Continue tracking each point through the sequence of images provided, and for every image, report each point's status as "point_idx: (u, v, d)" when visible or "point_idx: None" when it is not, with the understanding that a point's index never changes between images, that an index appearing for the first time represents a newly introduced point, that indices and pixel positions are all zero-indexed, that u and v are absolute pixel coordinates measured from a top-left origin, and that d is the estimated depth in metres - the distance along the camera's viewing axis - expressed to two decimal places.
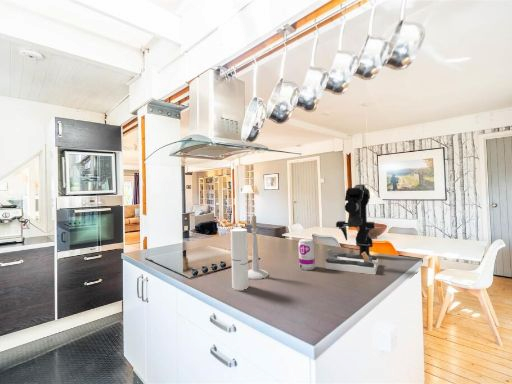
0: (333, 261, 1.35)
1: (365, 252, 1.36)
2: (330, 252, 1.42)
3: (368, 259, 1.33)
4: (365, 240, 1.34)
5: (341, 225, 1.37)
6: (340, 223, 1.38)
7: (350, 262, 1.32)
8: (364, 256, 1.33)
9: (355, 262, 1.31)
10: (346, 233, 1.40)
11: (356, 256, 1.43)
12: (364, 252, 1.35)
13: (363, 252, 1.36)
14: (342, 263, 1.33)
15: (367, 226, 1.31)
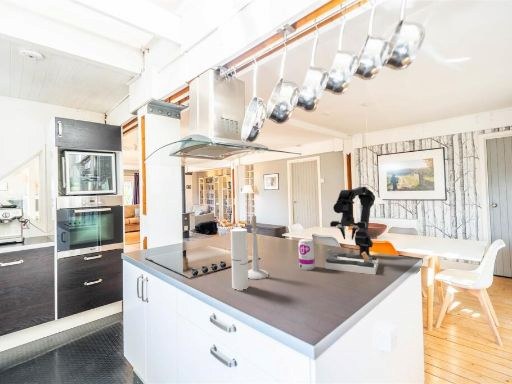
0: (333, 261, 1.35)
1: (365, 252, 1.36)
2: (330, 252, 1.42)
3: (368, 259, 1.33)
4: (352, 238, 1.45)
5: (335, 225, 1.47)
6: (334, 223, 1.48)
7: (350, 262, 1.32)
8: (364, 256, 1.33)
9: (355, 262, 1.31)
10: (344, 232, 1.49)
11: (356, 256, 1.43)
12: (364, 252, 1.35)
13: (363, 252, 1.36)
14: (342, 263, 1.33)
15: (359, 225, 1.41)
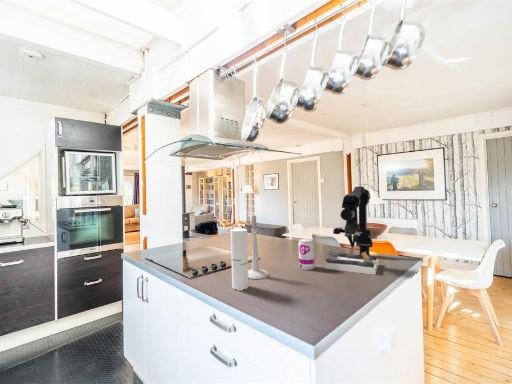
0: (333, 261, 1.35)
1: (365, 252, 1.36)
2: (330, 252, 1.42)
3: (368, 259, 1.33)
4: (353, 246, 1.37)
5: (338, 232, 1.39)
6: (337, 230, 1.39)
7: (350, 262, 1.32)
8: (364, 256, 1.33)
9: (355, 262, 1.31)
10: None
11: (356, 256, 1.43)
12: (364, 252, 1.35)
13: (363, 252, 1.36)
14: (342, 263, 1.33)
15: (364, 233, 1.32)
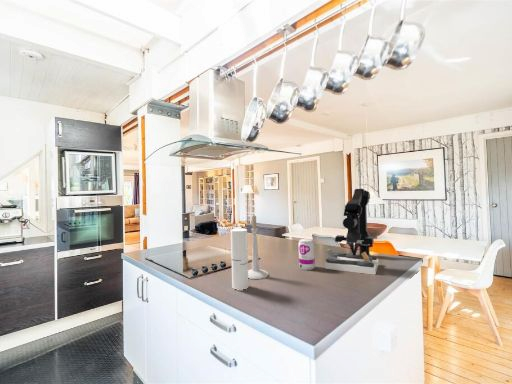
0: (333, 261, 1.35)
1: (365, 252, 1.36)
2: (330, 252, 1.42)
3: (368, 259, 1.33)
4: (355, 254, 1.37)
5: (340, 240, 1.38)
6: (339, 238, 1.39)
7: (350, 262, 1.32)
8: (364, 256, 1.33)
9: (355, 262, 1.31)
10: (353, 248, 1.39)
11: (356, 256, 1.43)
12: (364, 252, 1.35)
13: (363, 252, 1.36)
14: (342, 263, 1.33)
15: (366, 242, 1.32)
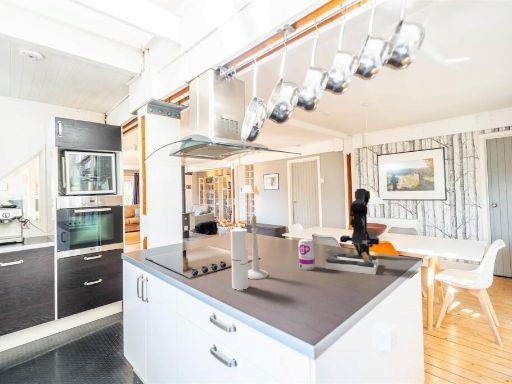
0: (333, 261, 1.35)
1: (365, 252, 1.36)
2: (330, 252, 1.42)
3: (368, 259, 1.33)
4: (360, 255, 1.36)
5: (345, 240, 1.37)
6: (344, 238, 1.38)
7: (350, 262, 1.32)
8: (364, 256, 1.33)
9: (355, 262, 1.31)
10: (359, 249, 1.37)
11: (356, 256, 1.43)
12: (364, 252, 1.35)
13: (363, 252, 1.36)
14: (342, 263, 1.33)
15: (371, 242, 1.31)
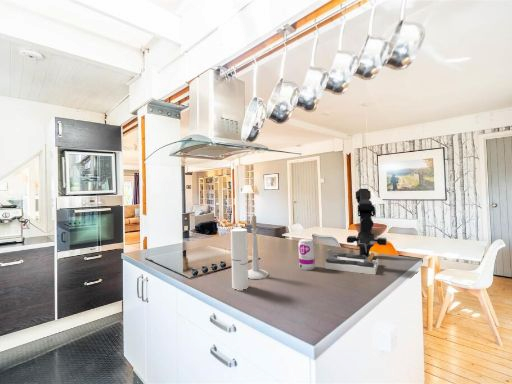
0: (333, 261, 1.35)
1: None
2: (330, 252, 1.42)
3: None
4: (367, 255, 1.34)
5: (352, 241, 1.35)
6: (351, 238, 1.36)
7: (350, 262, 1.32)
8: (370, 257, 1.32)
9: (355, 262, 1.31)
10: (366, 249, 1.36)
11: (356, 256, 1.43)
12: None
13: (373, 253, 1.34)
14: (342, 263, 1.33)
15: (379, 242, 1.29)
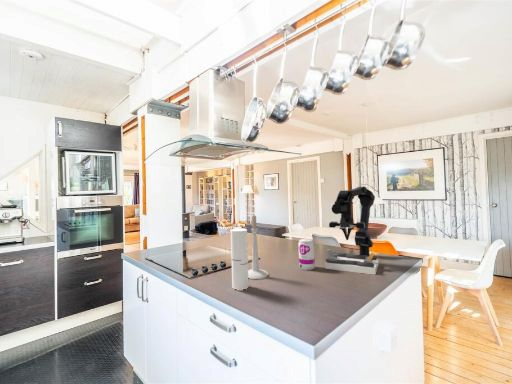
0: (333, 261, 1.35)
1: None
2: (330, 252, 1.42)
3: None
4: None
5: (334, 225, 1.47)
6: (333, 223, 1.48)
7: (350, 262, 1.32)
8: (370, 257, 1.32)
9: (355, 262, 1.31)
10: None
11: (356, 256, 1.43)
12: None
13: (373, 253, 1.34)
14: (342, 263, 1.33)
15: (358, 226, 1.41)
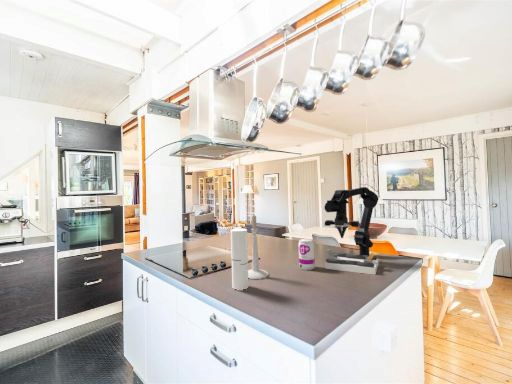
0: (333, 261, 1.35)
1: None
2: (330, 252, 1.42)
3: None
4: (342, 237, 1.51)
5: (329, 224, 1.52)
6: (328, 222, 1.52)
7: (350, 262, 1.32)
8: (370, 257, 1.32)
9: (355, 262, 1.31)
10: None
11: (356, 256, 1.43)
12: None
13: (373, 253, 1.34)
14: (342, 263, 1.33)
15: (352, 224, 1.46)
